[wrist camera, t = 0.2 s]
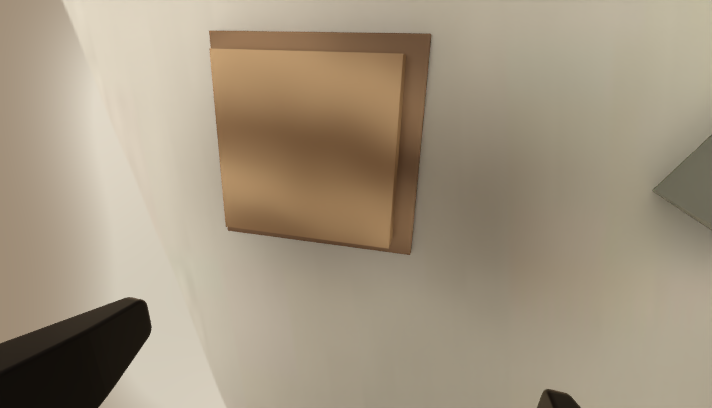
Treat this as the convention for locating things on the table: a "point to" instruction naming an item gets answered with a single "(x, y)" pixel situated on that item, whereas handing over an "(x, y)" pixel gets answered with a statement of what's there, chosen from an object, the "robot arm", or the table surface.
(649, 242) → the table surface
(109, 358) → the robot arm
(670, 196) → the slate block
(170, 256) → the table surface
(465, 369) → the table surface
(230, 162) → the oak top slab
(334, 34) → the walnut base slab
